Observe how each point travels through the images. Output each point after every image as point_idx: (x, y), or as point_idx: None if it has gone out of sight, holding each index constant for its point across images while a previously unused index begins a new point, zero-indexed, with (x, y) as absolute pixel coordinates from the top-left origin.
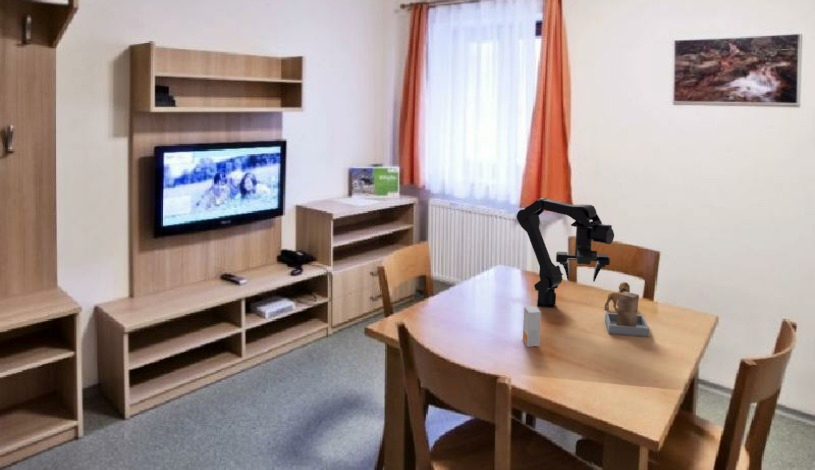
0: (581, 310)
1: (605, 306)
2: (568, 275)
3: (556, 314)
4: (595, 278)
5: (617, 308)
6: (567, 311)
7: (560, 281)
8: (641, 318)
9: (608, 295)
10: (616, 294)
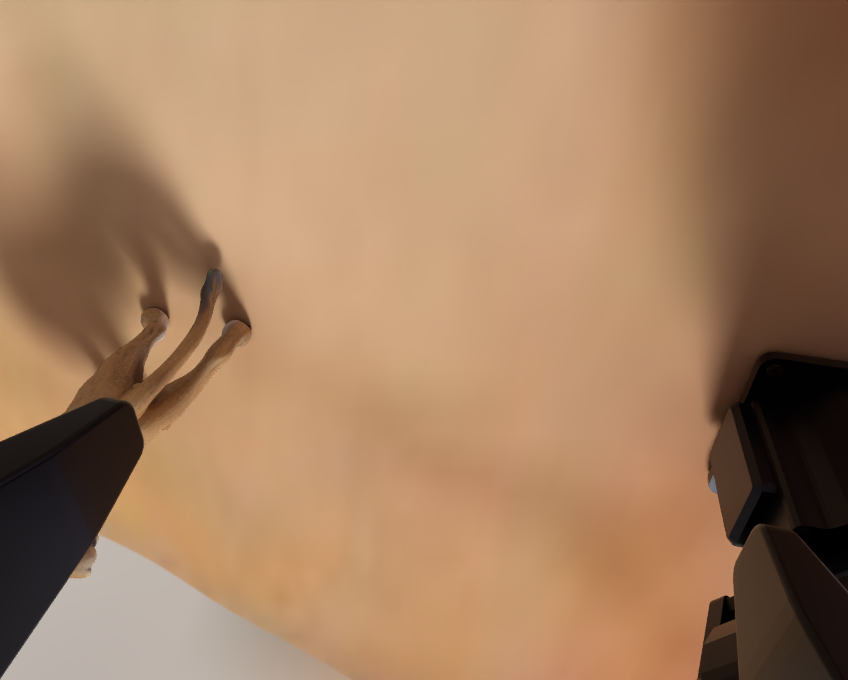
0: (464, 286)
1: (231, 335)
2: (832, 654)
3: (822, 125)
4: (19, 440)
5: (143, 321)
6: (629, 247)
7: (735, 657)
8: None
9: (156, 420)
10: (68, 411)
